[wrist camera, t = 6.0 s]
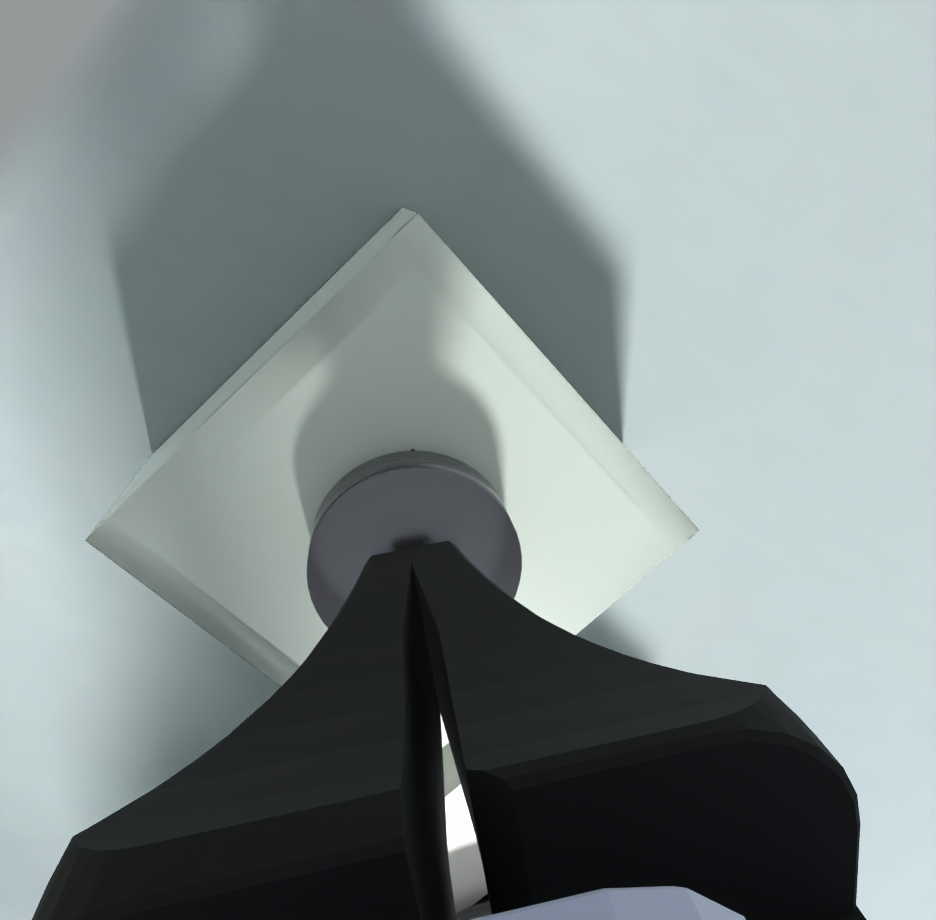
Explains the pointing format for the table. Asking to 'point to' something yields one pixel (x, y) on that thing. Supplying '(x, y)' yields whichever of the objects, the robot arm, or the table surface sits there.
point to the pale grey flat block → (378, 433)
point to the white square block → (461, 841)
